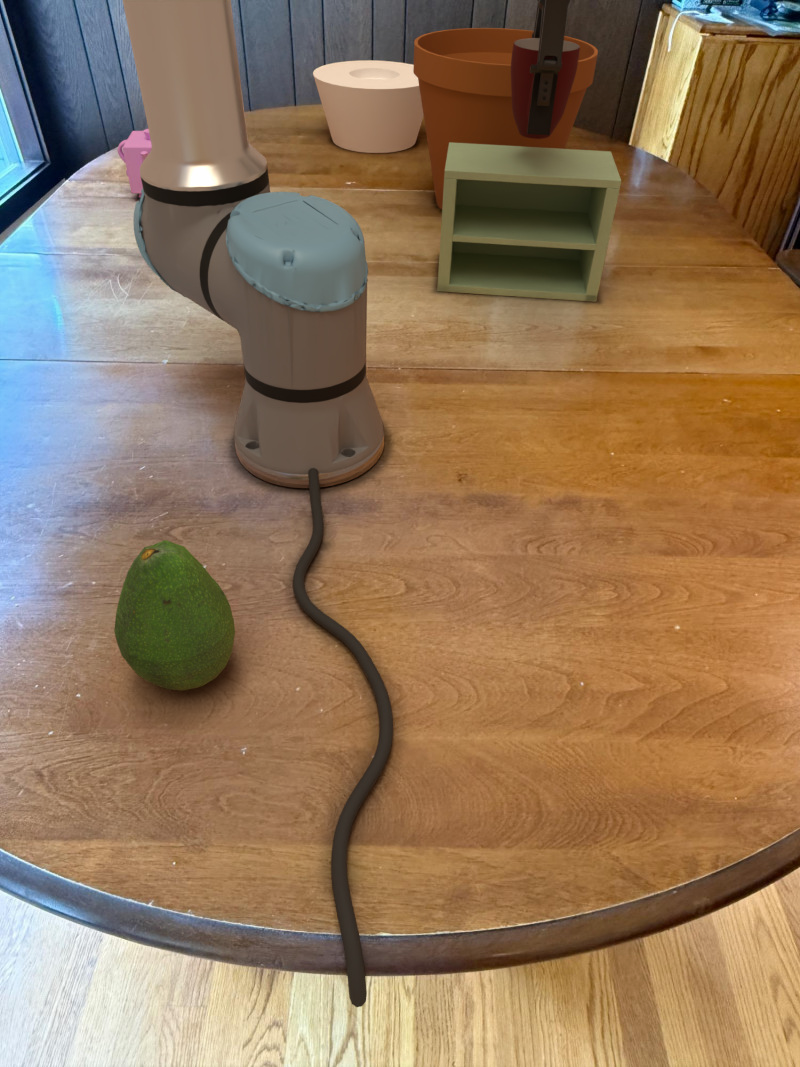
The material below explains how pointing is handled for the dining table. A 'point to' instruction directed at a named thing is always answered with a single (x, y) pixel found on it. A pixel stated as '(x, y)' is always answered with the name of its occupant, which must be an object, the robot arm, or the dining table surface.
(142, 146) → the teapot
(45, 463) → the dining table surface
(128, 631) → the fruit
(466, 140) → the flowerpot
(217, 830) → the dining table surface
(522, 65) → the mug
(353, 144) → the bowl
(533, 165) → the shelf unit
